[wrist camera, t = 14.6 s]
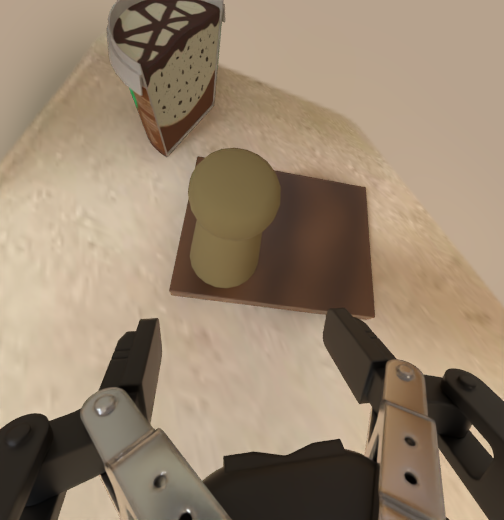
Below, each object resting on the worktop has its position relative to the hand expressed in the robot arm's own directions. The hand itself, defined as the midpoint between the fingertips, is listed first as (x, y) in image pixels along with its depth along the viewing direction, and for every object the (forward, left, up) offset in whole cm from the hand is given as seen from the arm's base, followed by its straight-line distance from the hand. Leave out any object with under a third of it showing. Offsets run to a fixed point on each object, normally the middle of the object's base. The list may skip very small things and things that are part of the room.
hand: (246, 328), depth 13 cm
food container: (-10, +23, -11) cm, 28 cm away
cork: (-1, +7, -10) cm, 12 cm away
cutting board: (+4, +10, -11) cm, 15 cm away
